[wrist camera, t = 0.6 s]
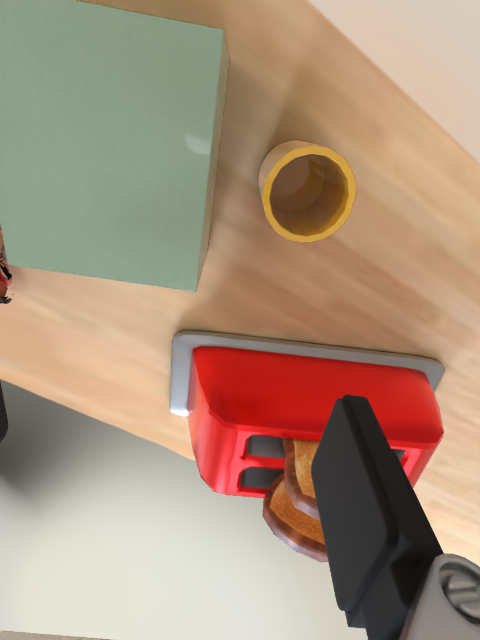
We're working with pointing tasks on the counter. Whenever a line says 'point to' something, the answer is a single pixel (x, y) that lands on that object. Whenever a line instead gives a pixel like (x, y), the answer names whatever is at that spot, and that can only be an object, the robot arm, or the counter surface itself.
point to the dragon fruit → (4, 279)
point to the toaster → (293, 417)
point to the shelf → (108, 140)
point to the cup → (306, 190)
